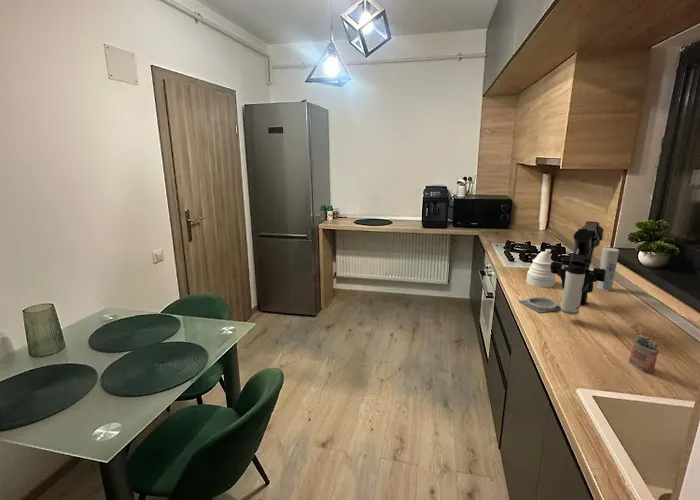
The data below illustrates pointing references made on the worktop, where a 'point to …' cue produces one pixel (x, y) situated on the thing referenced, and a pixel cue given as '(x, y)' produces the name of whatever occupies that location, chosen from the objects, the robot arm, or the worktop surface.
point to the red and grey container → (644, 354)
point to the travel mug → (573, 288)
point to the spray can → (608, 267)
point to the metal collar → (547, 308)
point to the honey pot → (541, 271)
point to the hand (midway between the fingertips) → (572, 289)
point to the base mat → (540, 303)
